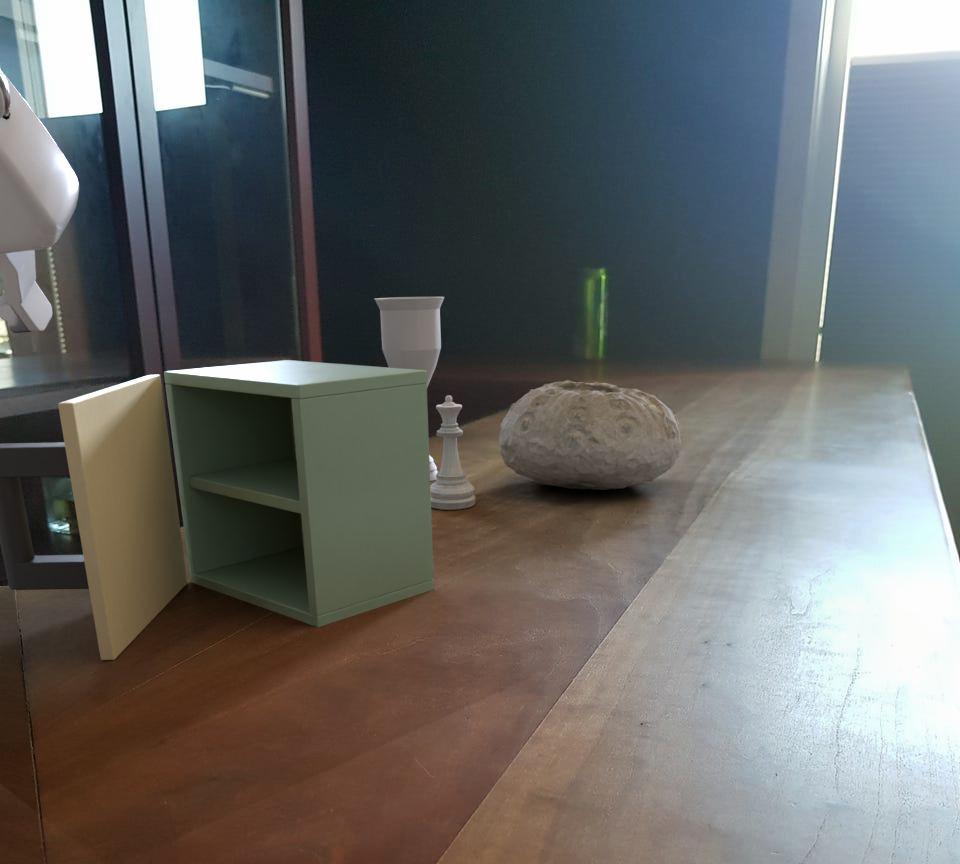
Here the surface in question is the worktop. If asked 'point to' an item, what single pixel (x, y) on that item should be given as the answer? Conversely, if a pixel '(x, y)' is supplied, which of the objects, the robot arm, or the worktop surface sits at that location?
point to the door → (104, 509)
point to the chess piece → (450, 464)
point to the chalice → (412, 336)
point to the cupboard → (304, 484)
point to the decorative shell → (589, 436)
